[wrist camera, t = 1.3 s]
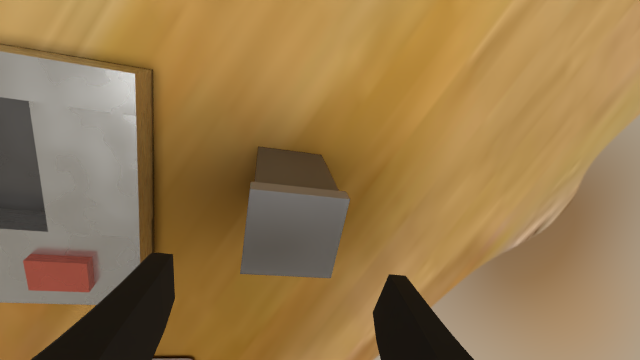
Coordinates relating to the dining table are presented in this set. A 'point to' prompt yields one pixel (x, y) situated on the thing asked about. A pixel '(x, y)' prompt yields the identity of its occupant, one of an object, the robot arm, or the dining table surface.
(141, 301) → the robot arm
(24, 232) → the socket
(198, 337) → the dining table surface
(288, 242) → the plug
